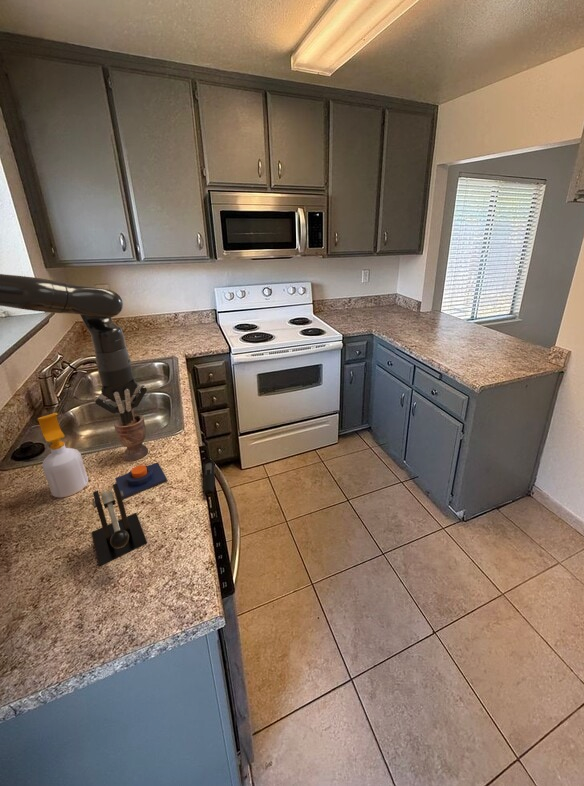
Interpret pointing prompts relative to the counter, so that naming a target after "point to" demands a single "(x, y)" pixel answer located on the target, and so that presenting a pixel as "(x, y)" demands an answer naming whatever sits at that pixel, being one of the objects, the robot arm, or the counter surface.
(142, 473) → the button
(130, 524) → the switch bracket
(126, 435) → the mortar and pestle
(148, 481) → the control block
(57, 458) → the soap bottle
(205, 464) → the electric trimmer
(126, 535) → the switch lever
